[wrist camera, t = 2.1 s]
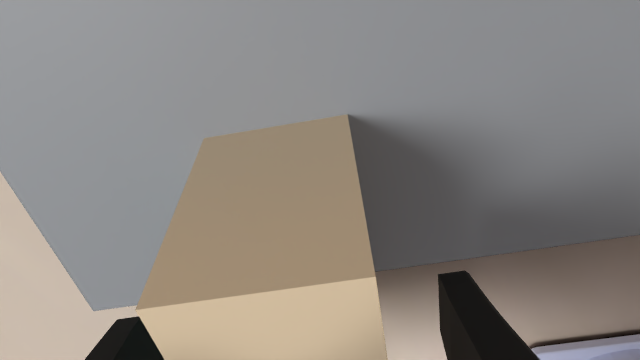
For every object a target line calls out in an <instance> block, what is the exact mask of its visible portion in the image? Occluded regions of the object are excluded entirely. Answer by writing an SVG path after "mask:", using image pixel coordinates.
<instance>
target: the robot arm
mask: <svg viewBox="0 0 640 360" xmlns="http://www.w3.org/2000/svg"><path fill="white" fill-rule="evenodd" d="M438 284H439V312H440V332H441V336H442V340H443V344H444V348H445V352H446V356H447V360H640V334H637V335H629V336H621V337H613V338H605V339H596V340H588V341H580V342H572V343H564V344H556V345H548V346H540V347H535V348H532V349H530V348H529V347H528V346H527V345H526V343H525V342H524V341H523V340H522V339H521V338H520V337H519V336H518V334H517V333H516V332H515V331H514V330H513V329H512V328H511V327H510V325H509V324H508V323H507V322H506V321H505V319H504V318H503V317H502V316H501V315H500V313H499V312H498V311H497V310H496V309H495V307H494V306H493V305H492V304H491V302H490V301H489V300H488V298H487V297H486V296H485V295H484V293H483V292H482V291H481V289H480V288H479V287H478V285H477V284H476V282H475V281H474V280H473V278H472V277H471V275H470V274H469V273H468V272H466V271H459V272H452V273H444V274H438ZM85 360H164V358H163V356H162V354H161V353H160V351H159V349H158V348H157V346H156V344H155V343H154V341H153V339H152V338H151V336H150V334H149V332H148V331H147V329H146V327H145V326H144V324H143V322H142V321H141V319H140V317H132V318H125V319H118V320H116V322H115V323H114V324H113V325H112V326H111V328H110V329H109V330H108V331H107V332H106V334H105V335H104V336H103V337H102V339H101V340H100V341H99V342H98V344H97V345H96V346H95V347H94V349H93V350H92V351H91V352H90V354H89V355H88V356H87V357H86V359H85Z"/></svg>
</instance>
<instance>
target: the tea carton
mask: <svg viewBox="0 0 640 360" xmlns="http://www.w3.org/2000/svg"><path fill="white" fill-rule="evenodd" d="M136 312H137V314H138V315H139V317H140V319H141V321H142V322H143V324H144V326H145V327H146V329H147V331H148V332H149V334H150V336H151V338H152V339H153V341H154V343H155V344H156V346H157V348H158V349H159V351H160V353H161V354H162V356H163V358H164V360H388V359H387V352H386V345H385V338H384V331H383V324H382V317H381V310H380V303H379V296H378V289H377V283H376V276H375V270H374V264H373V258H372V253H371V247H370V241H369V235H368V230H367V224H366V218H365V212H364V207H363V201H362V195H361V189H360V184H359V178H358V172H357V166H356V160H355V155H354V149H353V143H352V137H351V132H350V126H349V120H348V114H346V115H340V116H334V117H328V118H322V119H316V120H310V121H304V122H298V123H292V124H286V125H280V126H274V127H268V128H262V129H256V130H250V131H244V132H238V133H232V134H226V135H220V136H214V137H208V138H204V139H203V142H202V144H201V147H200V149H199V152H198V154H197V157H196V159H195V162H194V164H193V167H192V169H191V172H190V174H189V177H188V179H187V182H186V184H185V187H184V189H183V192H182V194H181V197H180V199H179V202H178V204H177V207H176V209H175V212H174V214H173V217H172V219H171V222H170V224H169V227H168V229H167V232H166V234H165V237H164V239H163V242H162V244H161V247H160V249H159V252H158V254H157V257H156V260H155V262H154V265H153V267H152V270H151V272H150V275H149V277H148V280H147V282H146V285H145V287H144V290H143V292H142V295H141V297H140V300H139V302H138V305H137V307H136Z"/></svg>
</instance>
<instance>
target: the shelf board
mask: <svg viewBox="0 0 640 360" xmlns="http://www.w3.org/2000/svg"><path fill="white" fill-rule="evenodd" d="M346 114H348V120H349V126H350V132H351V137H352V143H353V149H354V155H355V160H356V166H357V172H358V178H359V184H360V189H361V195H362V201H363V207H364V212H365V218H366V224H367V230H368V235H369V241H370V247H371V253H372V258H373V264H374V270H375V272H377V271H384V270H391V269H398V268H406V267H413V266H420V265H427V264H434V263H441V262H448V261H456V260H463V259H470V258H477V257H484V256H491V255H499V254H506V253H513V252H520V251H527V250H534V249H542V248H549V247H556V246H563V245H570V244H577V243H584V242H592V241H599V240H606V239H613V238H620V237H627V236H635V235H640V0H0V172H1V173H2V175H3V176H4V178H5V179H6V181H7V182H8V184H9V185H10V187H11V188H12V190H13V191H14V193H15V194H16V196H17V197H18V199H19V200H20V202H21V203H22V205H23V206H24V208H25V209H26V211H27V212H28V214H29V215H30V217H31V218H32V220H33V221H34V223H35V224H36V226H37V227H38V229H39V230H40V232H41V233H42V235H43V236H44V238H45V239H46V241H47V242H48V244H49V245H50V247H51V248H52V250H53V251H54V253H55V254H56V256H57V257H58V259H59V260H60V262H61V263H62V265H63V266H64V268H65V269H66V271H67V272H68V274H69V275H70V277H71V278H72V280H73V281H74V283H75V284H76V286H77V287H78V289H79V290H80V292H81V293H82V295H83V296H84V298H85V299H86V301H87V302H88V304H89V305H90V307H91V308H92V310H93V311H98V310H105V309H112V308H119V307H126V306H134V305H138V302H139V300H140V297H141V295H142V292H143V290H144V287H145V285H146V282H147V280H148V277H149V275H150V272H151V270H152V267H153V265H154V262H155V260H156V257H157V254H158V252H159V249H160V247H161V244H162V242H163V239H164V237H165V234H166V232H167V229H168V227H169V224H170V222H171V219H172V217H173V214H174V212H175V209H176V207H177V204H178V202H179V199H180V197H181V194H182V192H183V189H184V187H185V184H186V182H187V179H188V177H189V174H190V172H191V169H192V167H193V164H194V162H195V159H196V157H197V154H198V152H199V149H200V147H201V144H202V142H203V139H204V138H208V137H214V136H220V135H226V134H232V133H238V132H244V131H250V130H256V129H262V128H268V127H274V126H280V125H286V124H292V123H298V122H304V121H310V120H316V119H322V118H328V117H334V116H340V115H346Z"/></svg>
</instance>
